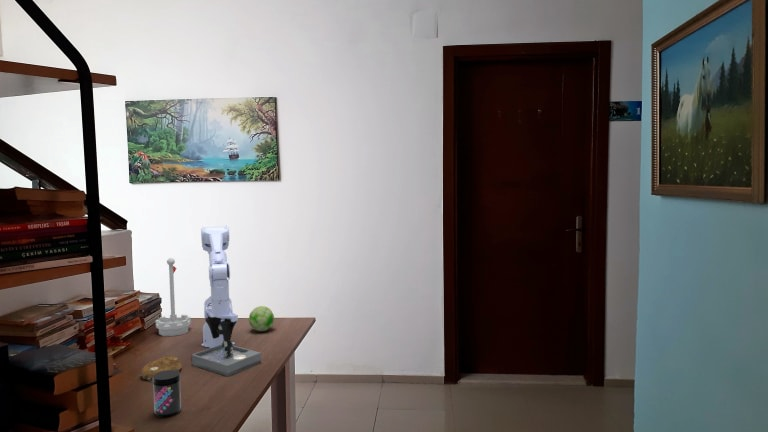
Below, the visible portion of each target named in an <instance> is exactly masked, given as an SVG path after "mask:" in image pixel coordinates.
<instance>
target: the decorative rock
mask: <svg viewBox="0 0 768 432" xmlns="http://www.w3.org/2000/svg"><path fill="white" fill-rule="evenodd" d="M182 367H183V366H182V363H180V362H179V358H178V356H166V357H165V356H163V357H160V358H157V359H155V360H154V361H150V362H148V363H147V364H145V366H144V367H142V369H141V370H140V374H141V377H142V379H143V380H146V381H149V383H153V375H154V374H156V373H158V372H161V371H165V370H177V371H179V372H180V370H181V369H182Z"/></svg>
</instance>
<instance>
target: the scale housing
mask: <svg viewBox="0 0 768 432" xmlns="http://www.w3.org/2000/svg"><path fill="white" fill-rule="evenodd" d="M221 348H223V346H222V344H221V345H218V346H215V347H212V348H209V347H208V348H206V349H204V350H201V351H198V352H195V353H192V354H191V355H190V363H191V366H194V367H196V368H199V369H203V370H205V371H208V372H209V371H210V372H212V373H214V374H219V375H222V376H223V377H224V376H225V377H229V376H232V375H235V374H237V373H239V372H243V371H245V370H247V369H250V368H251V367H254V366H257V365H259V364H261V363H262V356H261V354H262V353H261V352H259V351H256V350H251V349H249V348H245V347H241V346H237V345H235V344H233V350H237V351H241V352H244V353H242V354H240V355H237V356H234V357H232V358H229V359H226V360H224V361H221V362H216V361H213V360H210V359H207V358H203V357H200V356H201V355H204V354H207V353H209V352H212V351H215V350H218V349H221Z"/></svg>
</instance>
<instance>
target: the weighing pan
mask: <svg viewBox="0 0 768 432" xmlns="http://www.w3.org/2000/svg"><path fill="white" fill-rule="evenodd" d="M242 353H244V352H241V351H237V350H233V352H232V351H231V353H230V355H227V356H226V355H224V353H223V348H221V349H218V350H215V351H212V352H209V353H207V354H204V355H201V356H200V357H203V358H207V359H210V360H213V361H216V362H221V361H224V360H226V359H229V358H232V357H234V356H237V355H240V354H242Z"/></svg>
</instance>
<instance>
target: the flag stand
mask: <svg viewBox="0 0 768 432" xmlns="http://www.w3.org/2000/svg"><path fill="white" fill-rule="evenodd" d="M175 262H176V261H175V258H173V257H170V258H168V259H167V260H166V263H167V265H168V270H169V272H168V274H169V276H168V277H169V297H170V302H169V303H170V314H169V318H166V316H160V317H159V318H158V319H155V328H156V329H158V334H159V336H163V337H175V336H180V335H184V334H186V333H188V332H189V326H190V325H191V324H192V320H191V319H192V318H191V316H190V315H188V314H181V316H178V315H177V314H176V307H175V306H176V305H175V304H176V303H175V301H176V300H175V283H174V282H175V280H174V273H175V272H176V270H177V267H176V266H174V265H175Z"/></svg>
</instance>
